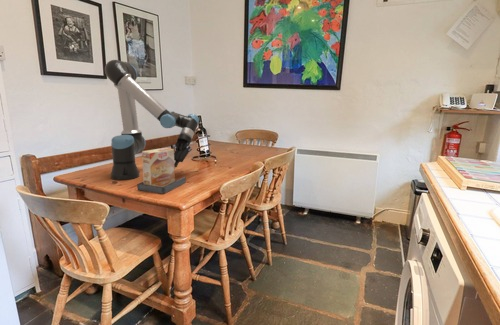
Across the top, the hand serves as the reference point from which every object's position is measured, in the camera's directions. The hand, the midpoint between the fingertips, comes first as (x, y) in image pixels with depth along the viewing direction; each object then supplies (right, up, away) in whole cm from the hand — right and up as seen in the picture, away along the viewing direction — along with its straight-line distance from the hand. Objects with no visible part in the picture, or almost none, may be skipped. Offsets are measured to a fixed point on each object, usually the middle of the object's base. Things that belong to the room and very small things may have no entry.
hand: (170, 171), depth 155 cm
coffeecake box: (-4, -8, -6) cm, 11 cm away
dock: (-3, -7, -6) cm, 10 cm away
